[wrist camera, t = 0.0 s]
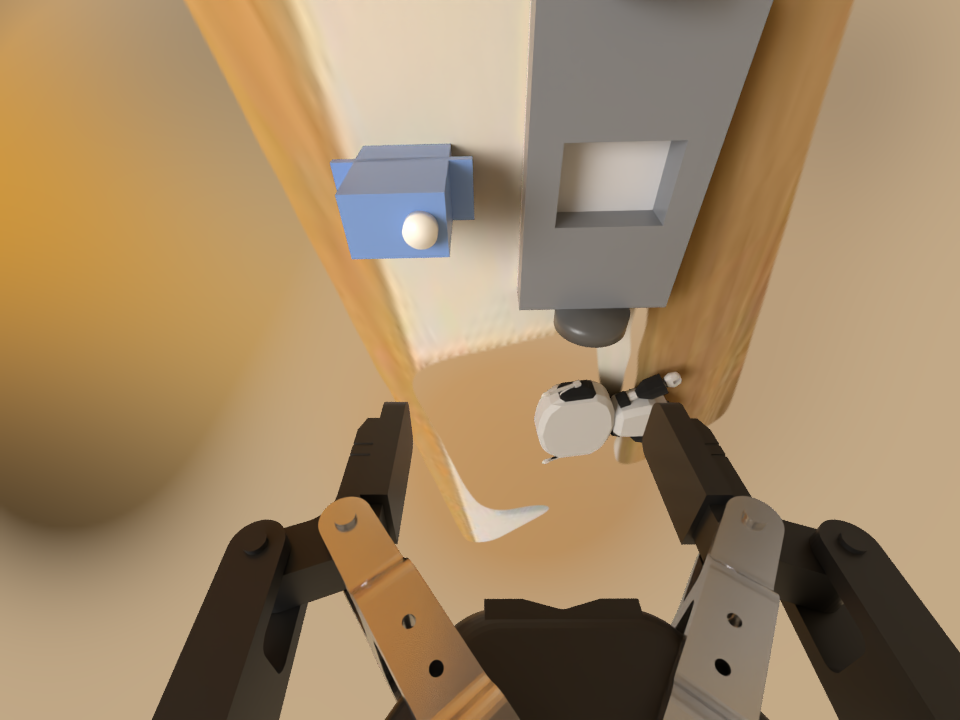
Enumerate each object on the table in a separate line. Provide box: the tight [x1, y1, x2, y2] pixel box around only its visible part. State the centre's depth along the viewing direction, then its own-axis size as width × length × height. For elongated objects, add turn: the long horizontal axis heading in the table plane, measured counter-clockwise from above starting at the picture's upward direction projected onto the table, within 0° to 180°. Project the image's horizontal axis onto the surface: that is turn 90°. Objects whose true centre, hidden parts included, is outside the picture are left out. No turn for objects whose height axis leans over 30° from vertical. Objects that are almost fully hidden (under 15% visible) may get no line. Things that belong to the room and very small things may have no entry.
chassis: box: [517, 0, 773, 348], centre depth 28 cm, size 12×23×6 cm, turn 1°
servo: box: [330, 144, 474, 259], centre depth 27 cm, size 9×4×9 cm, turn 91°
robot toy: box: [534, 372, 682, 464], centre depth 47 cm, size 12×4×15 cm
